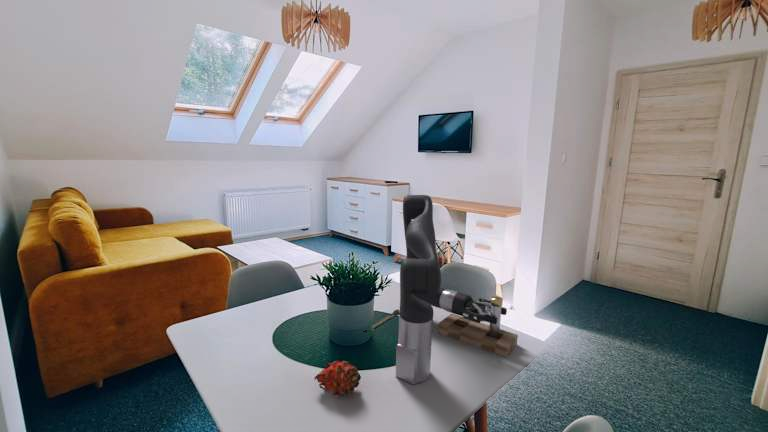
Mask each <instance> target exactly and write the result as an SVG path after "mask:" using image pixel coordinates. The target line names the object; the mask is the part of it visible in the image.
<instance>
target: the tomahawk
mask: <svg viewBox="0 0 768 432" xmlns="http://www.w3.org/2000/svg"><path fill="white" fill-rule="evenodd" d="M399 312H400V309H394V311H393V312H392V313H391V314H390V315H387V316H386V317H384V318H382V319H380V320H378V322H376V323H375V324H373V325H372V330H371V331H370V333H371V335H373V333H374V334H375V333H376V332H375V329H376V328H377V327H379V326H381V325H382V324H384V323H386V322H387V321H389V320H390V319H392V318H394V317H395V316H396V315H397V314H399Z"/></svg>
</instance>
